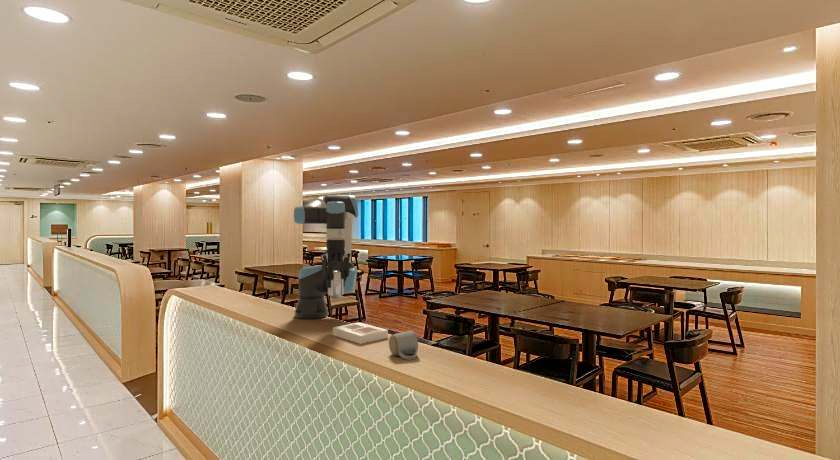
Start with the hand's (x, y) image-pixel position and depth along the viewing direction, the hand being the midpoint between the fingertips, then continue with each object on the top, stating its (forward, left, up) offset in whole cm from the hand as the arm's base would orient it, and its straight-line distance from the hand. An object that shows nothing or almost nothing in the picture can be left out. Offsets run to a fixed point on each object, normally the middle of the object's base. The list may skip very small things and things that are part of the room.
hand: (335, 294), depth 192 cm
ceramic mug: (+38, +31, -14) cm, 51 cm away
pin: (0, 0, -1) cm, 1 cm away
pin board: (+13, +12, -14) cm, 23 cm away
